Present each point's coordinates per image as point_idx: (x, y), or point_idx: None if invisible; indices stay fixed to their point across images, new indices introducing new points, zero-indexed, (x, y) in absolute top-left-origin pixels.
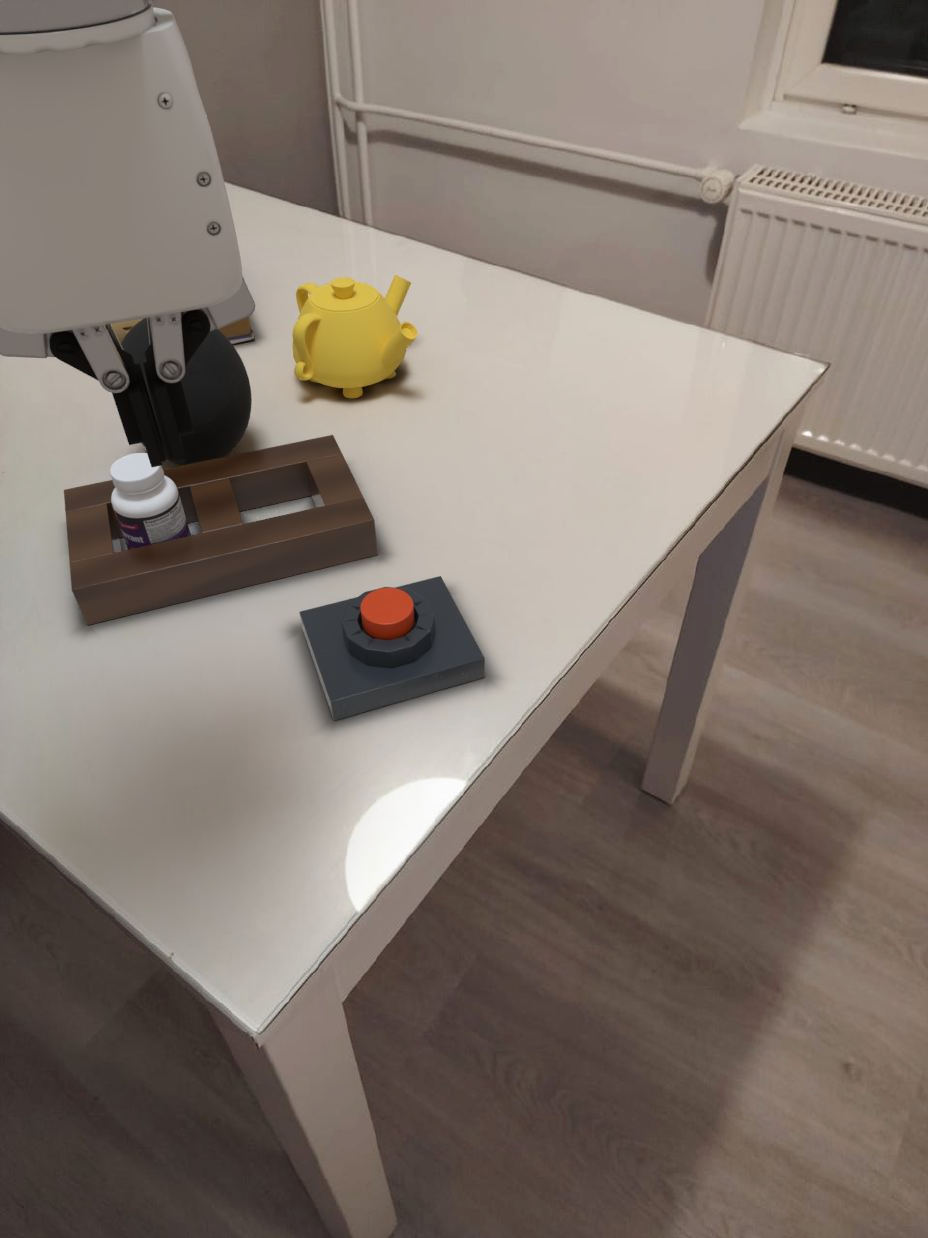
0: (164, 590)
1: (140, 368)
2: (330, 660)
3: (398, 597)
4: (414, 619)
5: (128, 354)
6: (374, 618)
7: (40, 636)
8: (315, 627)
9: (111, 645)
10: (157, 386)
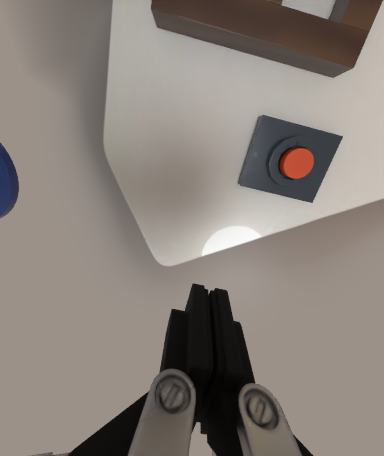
0: (206, 34)
1: (207, 384)
2: (255, 161)
3: (308, 161)
4: None
5: (196, 415)
6: (287, 169)
7: (129, 18)
8: (262, 133)
9: (165, 58)
10: (206, 431)
